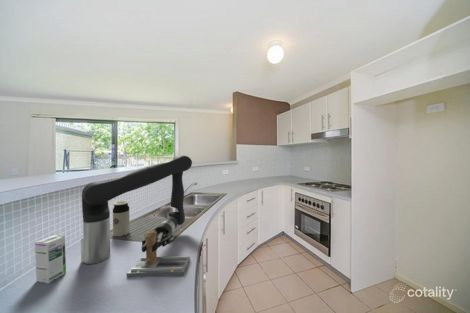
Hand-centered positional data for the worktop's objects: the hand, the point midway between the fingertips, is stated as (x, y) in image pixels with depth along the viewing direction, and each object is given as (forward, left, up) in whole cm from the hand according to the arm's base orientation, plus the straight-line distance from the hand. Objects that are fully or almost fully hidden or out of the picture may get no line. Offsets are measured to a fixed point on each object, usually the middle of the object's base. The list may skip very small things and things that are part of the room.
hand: (148, 249), depth 68 cm
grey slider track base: (+4, +3, -9) cm, 10 cm away
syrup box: (-35, -1, -9) cm, 36 cm away
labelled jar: (-31, +35, -9) cm, 48 cm away
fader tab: (0, +3, -7) cm, 8 cm away
